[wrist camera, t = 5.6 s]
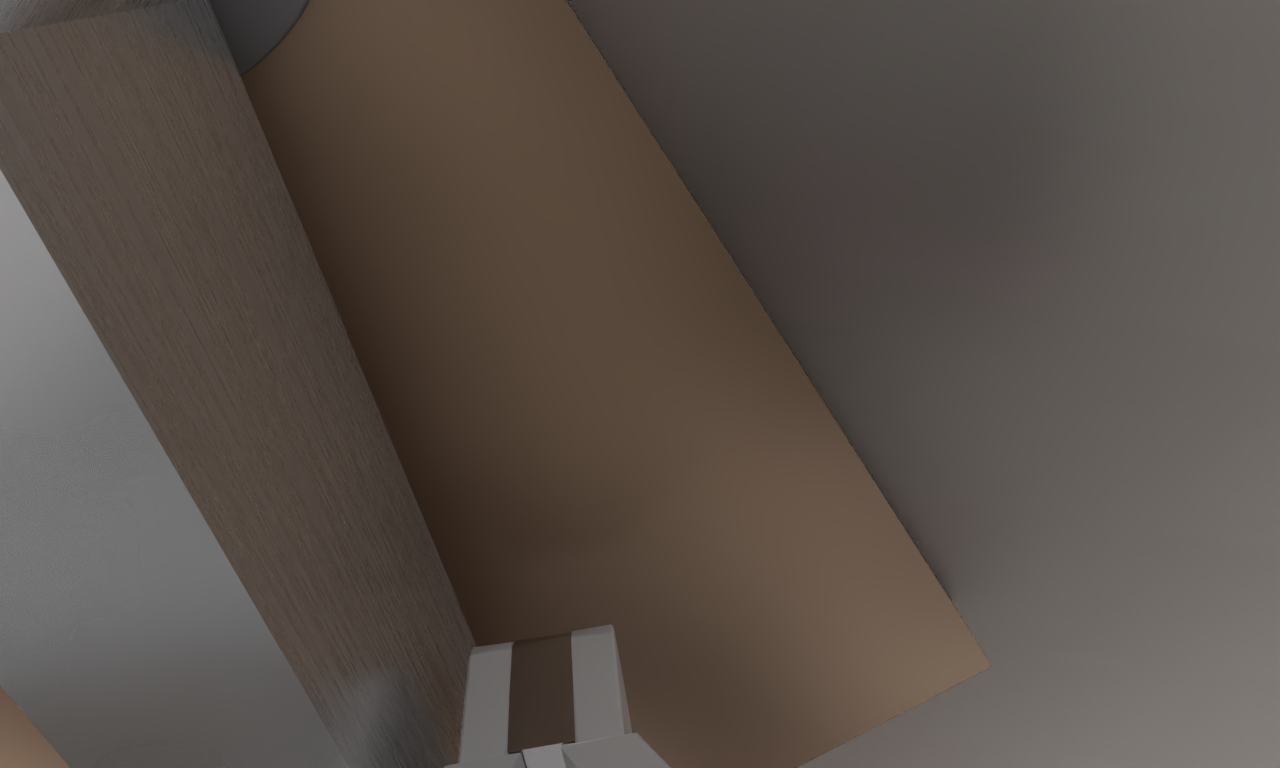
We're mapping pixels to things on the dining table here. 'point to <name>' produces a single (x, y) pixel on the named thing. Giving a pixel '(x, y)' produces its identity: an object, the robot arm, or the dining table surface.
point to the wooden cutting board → (584, 381)
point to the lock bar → (192, 431)
